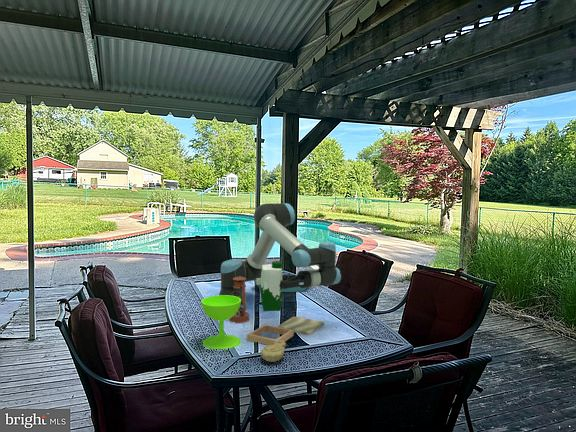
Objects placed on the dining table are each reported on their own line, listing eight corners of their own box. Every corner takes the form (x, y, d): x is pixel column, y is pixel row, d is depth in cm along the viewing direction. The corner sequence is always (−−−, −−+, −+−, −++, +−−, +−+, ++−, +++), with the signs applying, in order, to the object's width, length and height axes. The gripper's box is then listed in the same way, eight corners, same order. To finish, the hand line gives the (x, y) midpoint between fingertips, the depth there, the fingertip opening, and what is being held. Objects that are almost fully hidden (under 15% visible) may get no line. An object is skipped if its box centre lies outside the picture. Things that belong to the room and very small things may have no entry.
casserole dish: (306, 284, 264) (306, 273, 263) (314, 292, 242) (314, 281, 241) (251, 285, 258) (251, 275, 257) (254, 295, 236) (254, 283, 235)
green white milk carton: (282, 311, 162) (283, 264, 160) (260, 312, 162) (261, 265, 159) (281, 304, 171) (281, 259, 168) (260, 304, 170) (260, 259, 167)
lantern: (252, 317, 193) (253, 257, 191) (243, 324, 183) (244, 261, 181) (234, 315, 196) (235, 256, 194) (225, 322, 187) (225, 259, 185)
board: (277, 328, 179) (277, 326, 178) (293, 318, 193) (293, 316, 193) (309, 335, 171) (309, 332, 171) (324, 324, 185) (324, 321, 185)
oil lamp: (284, 349, 156) (284, 336, 156) (291, 365, 142) (291, 351, 142) (257, 350, 154) (257, 338, 154) (262, 367, 140) (262, 353, 140)
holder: (247, 340, 165) (247, 334, 164) (265, 329, 177) (265, 324, 177) (276, 347, 158) (276, 341, 158) (293, 335, 170) (293, 330, 170)
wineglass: (206, 354, 150) (205, 308, 149) (198, 339, 165) (197, 297, 164) (246, 347, 157) (246, 303, 156) (235, 334, 171) (235, 293, 170)
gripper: (319, 292, 165) (269, 298, 155) (297, 282, 183) (251, 287, 173) (320, 274, 165) (270, 280, 154) (297, 266, 183) (251, 270, 172)
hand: (260, 283), depth 164 cm, fingers closed on green white milk carton, 7 cm apart
